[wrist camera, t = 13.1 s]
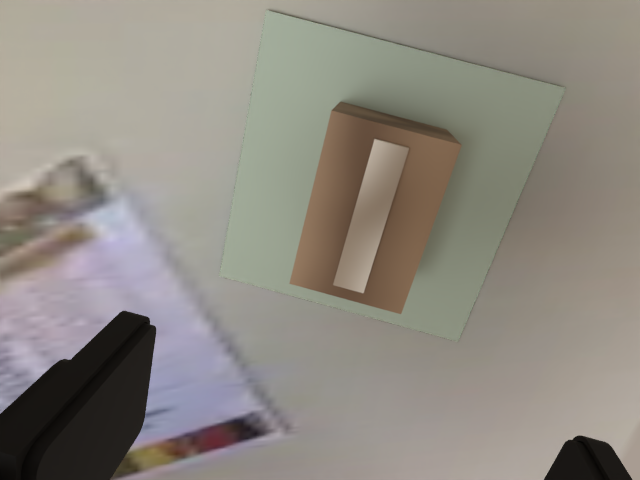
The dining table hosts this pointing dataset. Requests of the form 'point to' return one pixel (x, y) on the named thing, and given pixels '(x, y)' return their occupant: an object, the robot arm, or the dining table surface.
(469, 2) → the dining table surface
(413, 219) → the cardboard box
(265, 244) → the mat
